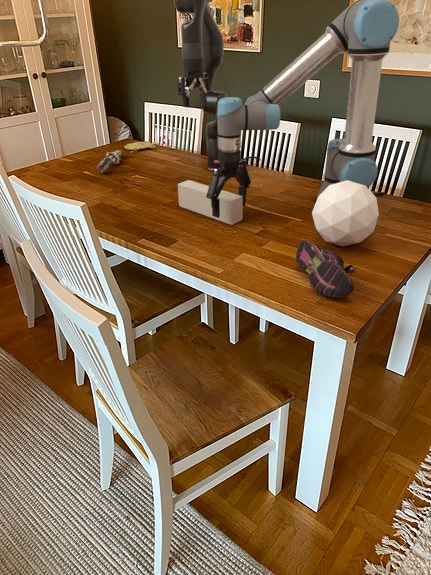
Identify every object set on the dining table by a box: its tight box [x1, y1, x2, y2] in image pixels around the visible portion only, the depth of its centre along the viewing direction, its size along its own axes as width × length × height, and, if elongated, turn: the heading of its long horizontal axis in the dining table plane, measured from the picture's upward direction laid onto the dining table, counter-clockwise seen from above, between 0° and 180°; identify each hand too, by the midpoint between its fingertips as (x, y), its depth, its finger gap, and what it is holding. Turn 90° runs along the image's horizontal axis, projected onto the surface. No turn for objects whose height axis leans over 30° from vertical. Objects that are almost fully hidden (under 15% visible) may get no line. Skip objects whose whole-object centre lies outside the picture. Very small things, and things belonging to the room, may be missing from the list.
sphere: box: [311, 180, 380, 248], centre depth 135 cm, size 19×20×20 cm
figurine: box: [96, 150, 123, 174], centre depth 213 cm, size 7×8×30 cm
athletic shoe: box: [295, 240, 357, 299], centre depth 118 cm, size 11×22×12 cm
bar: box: [177, 179, 244, 226], centre depth 160 cm, size 27×6×9 cm, turn 47°
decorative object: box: [124, 141, 157, 154], centre depth 239 cm, size 21×2×20 cm
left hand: (195, 105), depth 164 cm, fingers open, 8 cm apart
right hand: (229, 210), depth 155 cm, fingers open, 13 cm apart
